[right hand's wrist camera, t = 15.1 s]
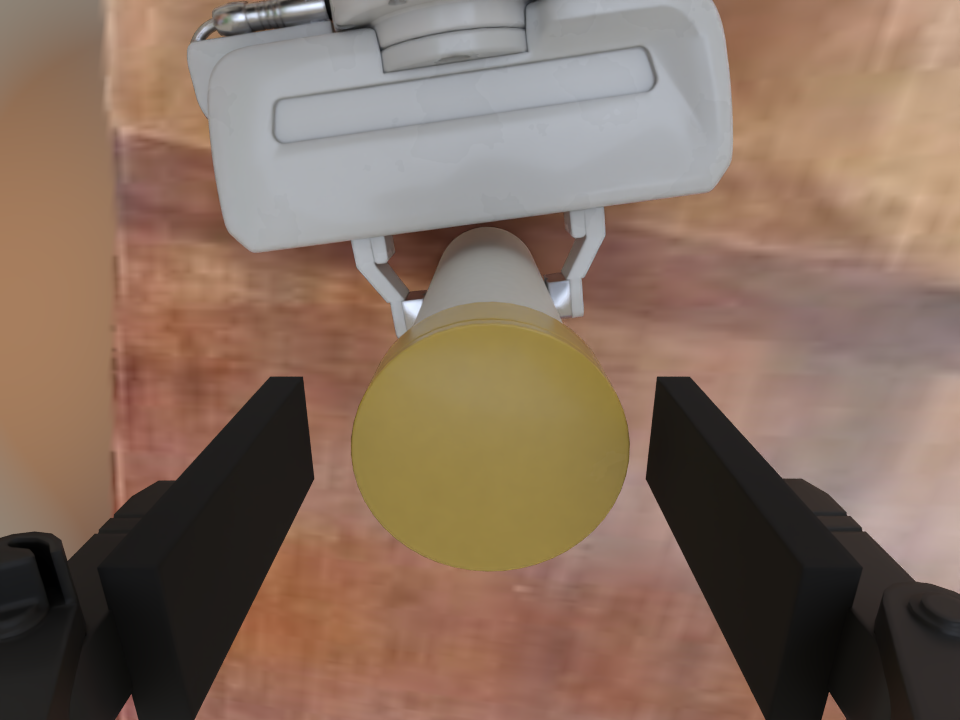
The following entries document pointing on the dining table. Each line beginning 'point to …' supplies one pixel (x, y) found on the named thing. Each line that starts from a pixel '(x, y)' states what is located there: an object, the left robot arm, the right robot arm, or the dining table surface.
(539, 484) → the lid
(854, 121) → the dining table surface
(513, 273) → the jar
